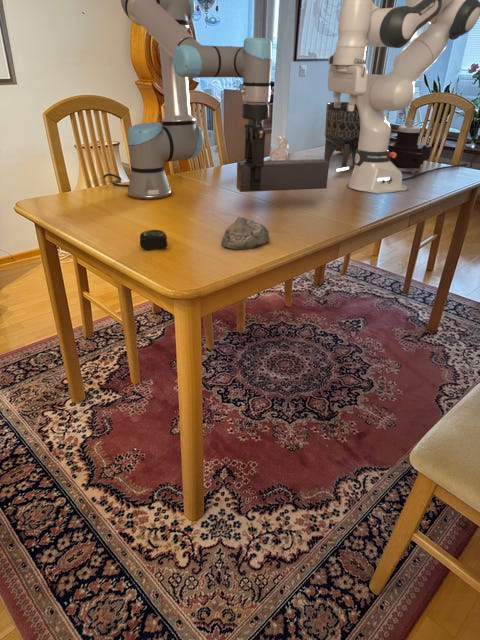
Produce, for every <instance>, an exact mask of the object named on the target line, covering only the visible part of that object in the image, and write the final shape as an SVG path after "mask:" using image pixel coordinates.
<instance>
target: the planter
mask: <svg viewBox="0 0 480 640" xmlns="http://www.w3.org/2000/svg"><path fill="white" fill-rule="evenodd" d="M340 102H341V107H340V108H335V107H334V101H333V102H327V103H326V109H325V124H324V125H325V126H324V139H325V144H324V156H323V157H324V158H323V159H324V160H326V161H328V162H329V163H331V158H332V156H333V154H334V153H335V151H336V149H338V148H340V147H342V152H341V166H340V168H345V167H348V166H347V165H348V159H349V154H348V152H349V150H350V151H351V153H352V154H351V157H352V158H351V159H352V160H351V161H352V166H353V167H354V166H355V155H356V149H357V148H358V142H359V134H360V118H359V112H358V108H357V106H356V104H355V106H354V111H347V104H349V101H340ZM345 171H347V170H343V171H342V172H345Z"/></svg>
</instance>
